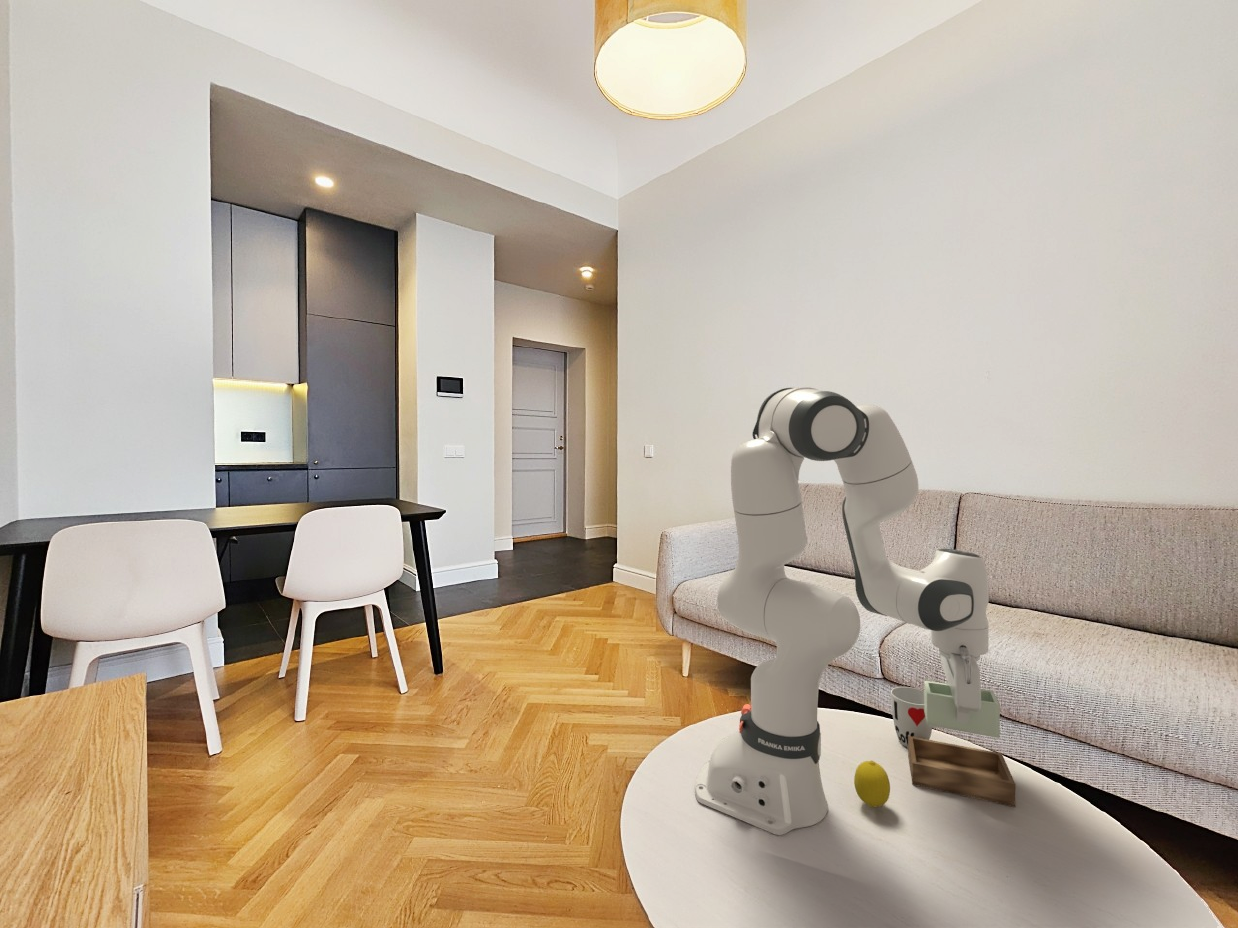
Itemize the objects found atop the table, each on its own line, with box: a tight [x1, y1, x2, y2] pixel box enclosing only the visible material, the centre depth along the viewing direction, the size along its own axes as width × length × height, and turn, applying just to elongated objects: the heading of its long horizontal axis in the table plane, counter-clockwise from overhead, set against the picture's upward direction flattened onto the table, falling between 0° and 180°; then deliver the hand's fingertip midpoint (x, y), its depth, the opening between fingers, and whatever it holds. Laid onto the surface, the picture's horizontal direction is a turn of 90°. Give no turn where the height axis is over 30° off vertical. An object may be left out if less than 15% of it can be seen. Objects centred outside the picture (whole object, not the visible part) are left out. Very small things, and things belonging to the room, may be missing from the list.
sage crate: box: [923, 680, 1001, 739], centre depth 98 cm, size 11×6×6 cm, turn 65°
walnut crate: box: [907, 736, 1017, 808], centre depth 98 cm, size 15×10×4 cm, turn 65°
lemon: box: [853, 760, 891, 809], centre depth 91 cm, size 6×6×8 cm
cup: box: [890, 686, 934, 748], centre depth 110 cm, size 8×8×10 cm
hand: (959, 711), depth 98 cm, fingers closed on sage crate, 5 cm apart
